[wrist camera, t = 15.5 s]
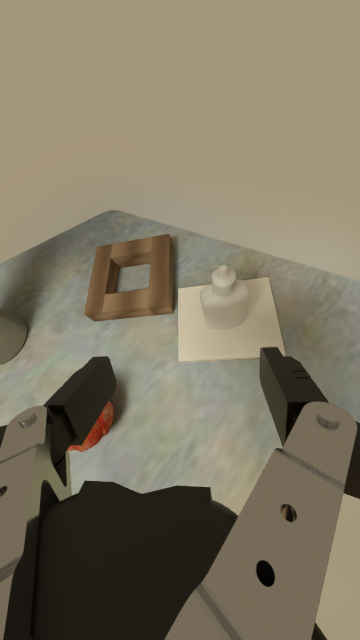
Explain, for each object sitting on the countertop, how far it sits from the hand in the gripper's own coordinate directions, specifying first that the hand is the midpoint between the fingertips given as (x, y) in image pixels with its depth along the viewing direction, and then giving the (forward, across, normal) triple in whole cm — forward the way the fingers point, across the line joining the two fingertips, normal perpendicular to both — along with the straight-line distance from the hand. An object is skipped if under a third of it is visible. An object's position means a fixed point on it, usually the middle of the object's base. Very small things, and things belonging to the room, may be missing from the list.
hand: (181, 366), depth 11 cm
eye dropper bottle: (+19, -3, +6) cm, 20 cm away
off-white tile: (+20, -3, +6) cm, 21 cm away
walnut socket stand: (+27, +12, 0) cm, 29 cm away
